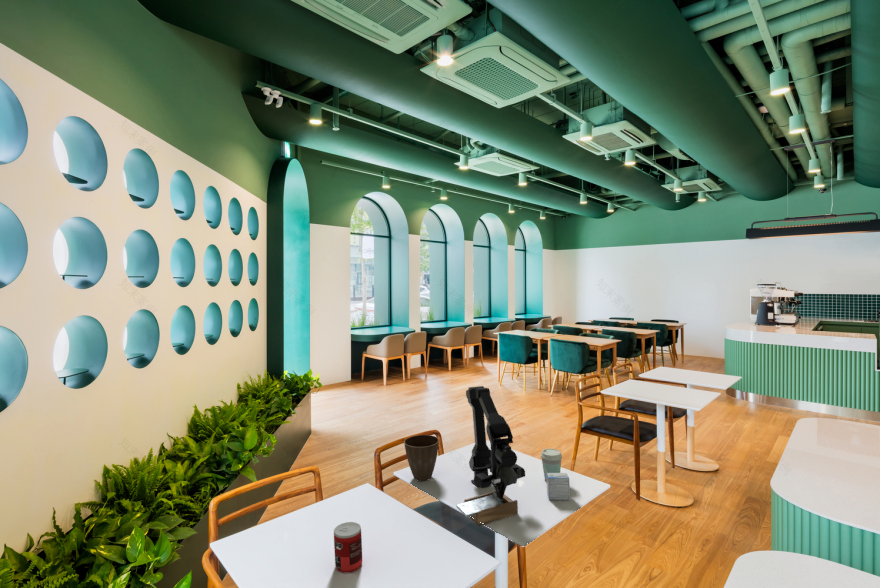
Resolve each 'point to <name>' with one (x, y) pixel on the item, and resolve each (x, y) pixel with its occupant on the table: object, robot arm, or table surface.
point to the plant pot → (421, 455)
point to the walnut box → (494, 510)
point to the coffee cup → (551, 461)
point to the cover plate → (479, 504)
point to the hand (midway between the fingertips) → (500, 499)
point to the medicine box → (558, 486)
